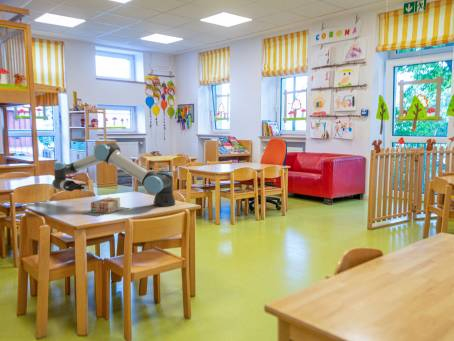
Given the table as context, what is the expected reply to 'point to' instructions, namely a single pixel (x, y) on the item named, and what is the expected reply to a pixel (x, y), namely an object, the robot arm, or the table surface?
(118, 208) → the mat
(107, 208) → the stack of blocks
